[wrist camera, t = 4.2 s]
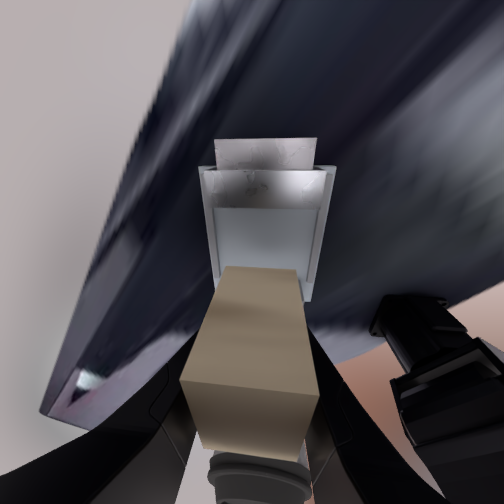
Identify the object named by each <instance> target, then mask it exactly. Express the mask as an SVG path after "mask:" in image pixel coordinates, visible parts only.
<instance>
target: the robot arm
mask: <svg viewBox="0 0 504 504" xmlns="http://www.w3.org/2000/svg"><path fill="white" fill-rule="evenodd" d="M448 305H449V302H448V301H447V300H446V299H443V298H427V297H410V296H392V295H388V296H386V297H384V299H383V301H382V303H381V305H380V308H379V310H378V312H377V314H376V317H375V319H374V321H373V323H372V326H371V328H370V330H369V333H370V335H371V336H375V337H384V338H385V339H386V341H387V343H388V344H389V346H390V348H391V349H392V351H393V353H394V354H395V356H396V358H397V360H398V361H399V363H400V364H401V366H402V368H403V369H404V371H405V373H406V374H404V375H402V376H400V377H398V378H396V379H395V378H393V379H391V380H390V385H391V388H392V392H393V395H394V399H395V402H396V406H397V409H398V413H399V416H400V420H401V423H402V426H403V429H404V433H405V435H406V437H407V438H408V439H409V441H410V443H411V445H412V446H413V449H414V451H415V452H416V454H417V455H418V456H419V458H420V459H421V460H422V461H423V463H424V464H425V466H426V467H427V468H428V470H429V471H430V473H431V474H432V476H433V478H434V479H435V481H436V482H437V484H438V486H439V488H440V489H441V491H442V493H443V494H444V496H445V498H446V499H445V498H444V497H443V496H442V495H440V494H439V493H438V492H437V491H436V490H434V489H433V488H432V487H431V486H429V484H427V483H426V482H425V481H424V480H423V479H422V478H421V477H420V476H419V475H418V474H417V473H416V472H415V471H414V470H413V469H412V468H411V467H410V466H409V465H408V463H407V462H406V461H405V460H404V459H403V458H402V456H401V455H400V454H399V452H398V451H397V450H396V449H395V447H394V446H393V445H392V444H391V442H390V441H389V440H388V439H387V437H386V436H385V435H384V433H383V432H382V431H381V430H380V428H379V427H378V426H377V425H376V423H375V422H374V421H373V420H372V418H371V417H370V416H369V415H368V413H367V412H366V411H365V409H364V408H363V407H362V405H361V404H360V403H359V401H358V400H357V399H356V397H355V396H354V394H353V393H352V391H351V390H350V389H349V387H348V385H347V384H346V383H345V382H344V380H343V378H342V377H341V375H340V374H339V372H338V371H337V369H336V368H335V366H334V365H333V363H332V362H331V360H330V359H329V357H328V356H327V354H326V353H325V351H324V350H323V348H322V347H321V345H320V344H319V342H318V341H317V339H316V338H315V337H314V335H313V334H312V332H311V331H310V329H309V328H308V326H307V325H306V326H307V331H308V336H309V342H310V347H311V352H312V358H313V363H314V369H315V374H316V379H317V385H318V390H319V395H320V396H319V399H318V402H317V404H316V407H315V410H314V413H313V416H312V419H311V422H310V425H309V427H308V430H307V433H306V436H305V443H306V449H307V455H308V461H309V468H310V474H311V481H312V486H313V494H314V500H315V504H504V352H502V351H501V350H499V349H497V348H496V347H494V346H493V345H491V344H489V343H488V342H486V341H484V340H483V339H481V338H479V337H476V338H474V339H472V338H471V337H470V336H469V335H468V334H467V329H466V327H464V326H463V325H462V324H461V323H460V322H459V321H458V320H457V319H456V318H455V317H454V316H453V315H452V314H450V313H449V312H448V311H447V310H446V308H447V307H448ZM200 328H201V327H200ZM200 328H199V329H198V331H197V332H196V333H195V334H194V335H193V336H192V337H191V338H190V339H189V340H188V341H187V342H186V343H185V344H184V345H183V346H182V347H181V348H180V349H179V350H178V351H177V353H176V354H175V355H174V356H173V357H172V358H171V359H170V360H169V361H168V363H166V364H165V365H164V366H163V367H162V368H161V369H160V370H159V371H158V372H157V373H156V374H155V375H154V376H153V377H152V378H151V379H150V380H149V381H148V382H147V383H146V384H145V385H144V386H143V387H142V388H141V389H139V390H138V391H137V392H136V393H135V394H134V395H133V396H132V397H131V398H129V399H128V400H127V401H126V402H125V403H124V404H123V405H122V406H120V407H119V408H118V409H117V410H116V411H115V412H114V413H113V414H112V415H110V416H109V417H108V418H107V419H106V420H105V421H103V422H102V423H101V424H99V425H98V426H97V427H95V428H94V429H92V430H91V431H89V432H88V433H86V434H84V435H82V436H80V437H78V438H76V439H75V440H72V441H71V442H69V443H66V444H64V445H62V446H61V447H59V448H57V449H55V450H53V451H51V452H49V453H47V454H45V455H43V456H41V457H39V458H37V459H35V460H33V461H31V462H29V463H27V464H25V465H23V466H21V467H19V468H17V469H15V470H13V471H11V472H9V473H7V474H4V475H1V476H0V504H175V501H176V498H177V495H178V491H179V488H180V485H181V481H182V478H183V475H184V471H185V467H186V465H187V461H188V458H189V455H190V451H191V448H192V445H193V441H194V438H195V435H196V432H197V428H196V426H195V423H194V420H193V417H192V414H191V412H190V409H189V406H188V403H187V400H186V398H185V395H184V392H183V389H182V386H181V383H180V381H179V379H180V377H181V374H182V372H183V369H184V367H185V365H186V362H187V360H188V357H189V355H190V352H191V350H192V347H193V345H194V342H195V340H196V338H197V335H198V333H199V330H200Z"/></svg>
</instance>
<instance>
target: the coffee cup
mask: <svg viewBox="0 0 504 504" xmlns="http://www.w3.org/2000/svg"><path fill="white" fill-rule="evenodd" d="M207 478H208V481H209V482H210V484H212V485H213V486H214V487H215V495H216V503H217V504H304V501H307V500H309V499H310V498H311V496H312V489H311V487H310V485H311V474H310V471H309V469H308V463H307V456H306V450H305V444H304V442H303V445H302V447H301V450H300V453H299V456H298V459H297V462H294V461H287V460H280V459H273V458H266V457H259V456H252V455H245V454H238V453H232V452H225V451H218V450H214V455H213V457H212V458H211V459H210V470H209V472H208V476H207Z"/></svg>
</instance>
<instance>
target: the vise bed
mask: <svg viewBox="0 0 504 504" xmlns="http://www.w3.org/2000/svg"><path fill="white" fill-rule="evenodd" d="M214 167H217V166H200V167H199V175H200V182H201V189H202V197H203V204H204V212H205V219H206V226H207V234H208V241H209V248H210V256H211V263H212V270H213V278H214V285H215V291H216V289H217V286H218V284H219V281H220V279H221V276H222V274H223V271H224V269H225V266H240V267H259V268H277V269H296V272H297V278H298V283H299V288H300V294H301V299H302V304H303V308H304V302H305V301H307V302H311V297H312V292H313V286H314V281H315V276H316V271H317V266H318V260H319V255H320V250H321V245H322V240H323V234H324V229H325V224H326V219H327V214H328V209H329V203H330V198H331V193H332V188H333V183H334V177H335V172H336V166H333V165H313V167H319V168H321V169H324V170H326V171H327V173H326V178H325V184H324V190H323V196H322V202H321V208H320V210H308V209H254V208H208V201H207V193H206V185H205V177H204V170H207V169H211V168H214Z"/></svg>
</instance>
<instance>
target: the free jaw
mask: <svg viewBox="0 0 504 504" xmlns="http://www.w3.org/2000/svg"><path fill="white" fill-rule="evenodd" d="M316 141H317V138H273V139H214V142H215V153H216V164H217V167H214V168H211V169H207V170H204V177H205V185H206V193H207V201H208V208H254V209H308V210H320V208H321V202H322V196H323V190H324V184H325V178H326V173H327V171H326V170H324V169H321V168H319V167H313V163H314V156H315V148H316Z"/></svg>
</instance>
